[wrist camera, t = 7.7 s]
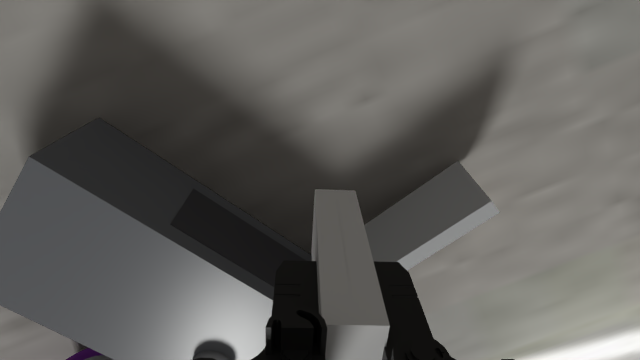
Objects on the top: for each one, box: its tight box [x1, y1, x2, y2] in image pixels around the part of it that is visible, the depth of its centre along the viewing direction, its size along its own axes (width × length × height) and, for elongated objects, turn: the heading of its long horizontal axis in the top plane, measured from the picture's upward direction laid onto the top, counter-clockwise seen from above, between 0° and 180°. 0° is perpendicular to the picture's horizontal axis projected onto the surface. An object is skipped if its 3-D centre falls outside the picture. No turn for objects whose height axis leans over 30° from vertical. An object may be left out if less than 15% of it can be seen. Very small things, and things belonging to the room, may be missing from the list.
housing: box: [0, 118, 312, 360], centre depth 23 cm, size 18×9×7 cm, turn 52°
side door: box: [364, 161, 500, 270], centre depth 23 cm, size 10×2×6 cm, turn 130°
